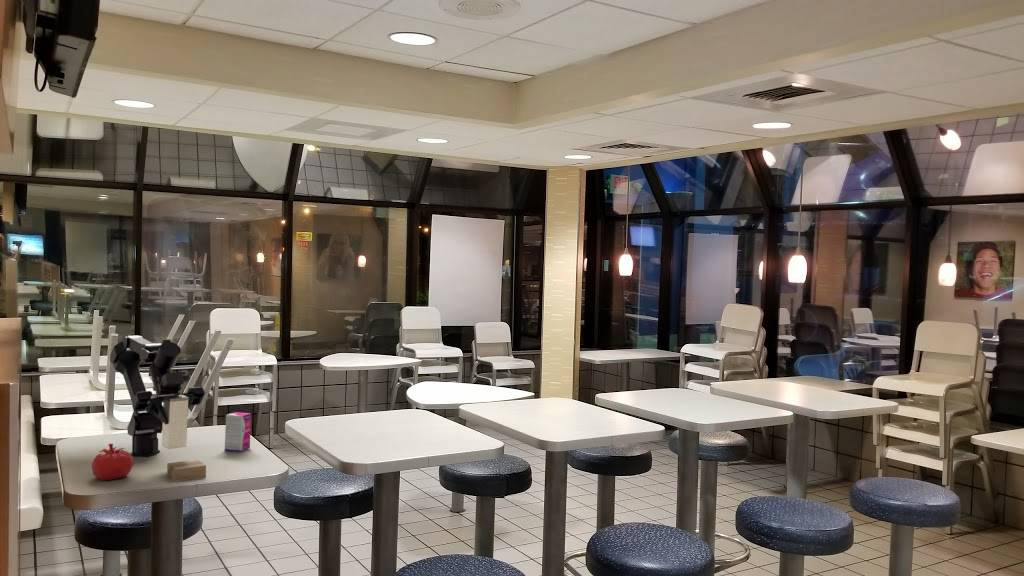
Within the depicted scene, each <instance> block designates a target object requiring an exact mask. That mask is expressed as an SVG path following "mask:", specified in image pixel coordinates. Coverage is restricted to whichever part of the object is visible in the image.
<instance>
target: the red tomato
mask: <svg viewBox="0 0 1024 576" xmlns="http://www.w3.org/2000/svg"><path fill="white" fill-rule="evenodd" d="M107 445H108V447H109V449H107V448H103V449H101V450H100V451H99V450H98V454H97V455H96V456H95V457H94V458H93V459H92V460H93V461H92V463H91V470H92V475H93V477H95V478H96V479H97V480H100V479H102V480H101V481H113V480H117V479H121V478H124V477H126V476H128V475H129V474H130V472H131V471H132V469H133V467H134V466H133V465H134V458H133V457H134V456H133V455H131V454H130V453H131V452H128V451H126V448H124V447H120V448H118V447H117V446H114V443H108V444H107ZM116 448H118V449H116Z"/></svg>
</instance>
